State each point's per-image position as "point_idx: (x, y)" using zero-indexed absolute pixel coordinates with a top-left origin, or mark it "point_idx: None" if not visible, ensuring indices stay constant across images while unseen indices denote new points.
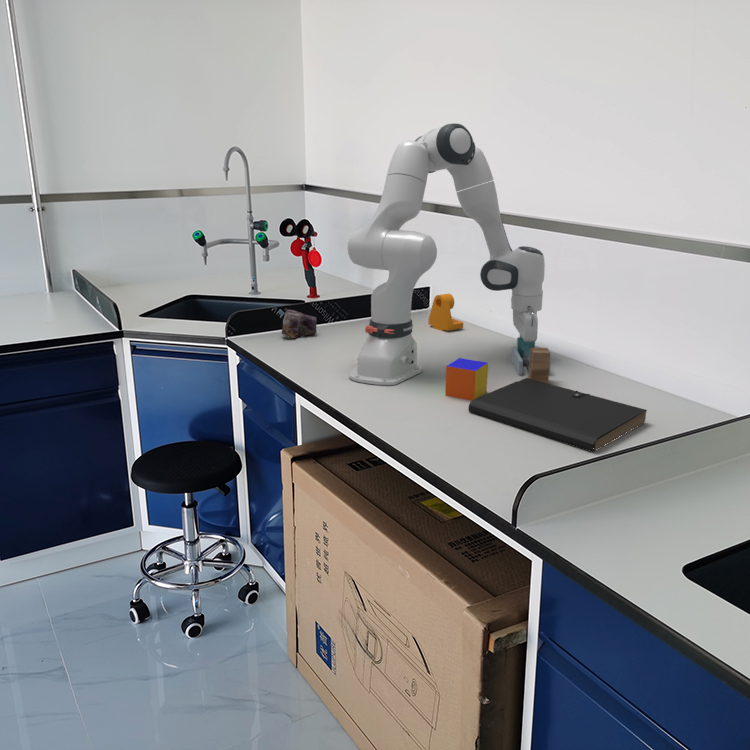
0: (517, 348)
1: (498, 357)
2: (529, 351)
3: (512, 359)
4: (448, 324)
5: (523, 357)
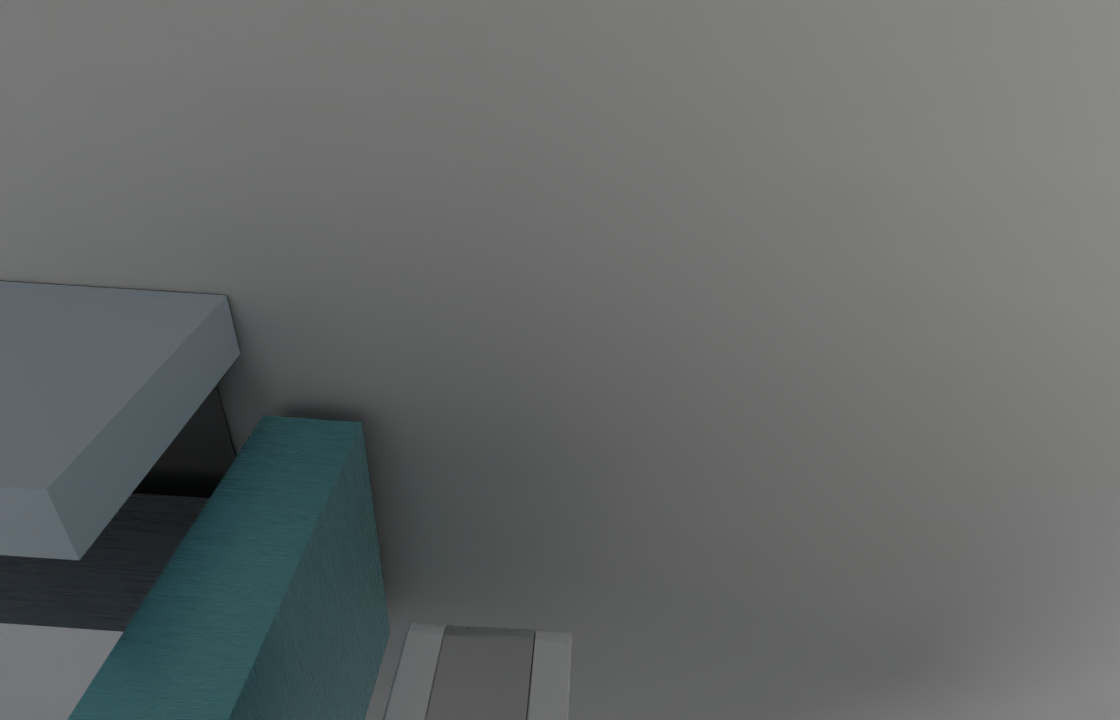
0: (170, 574)
1: (420, 60)
2: (39, 702)
3: (17, 319)
4: None
5: None
